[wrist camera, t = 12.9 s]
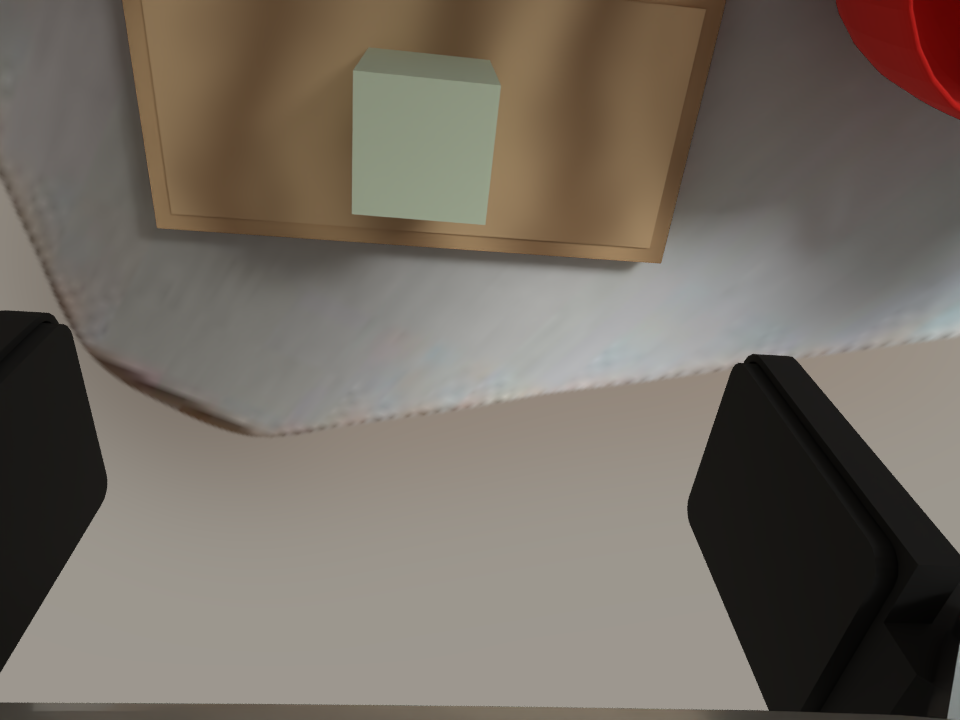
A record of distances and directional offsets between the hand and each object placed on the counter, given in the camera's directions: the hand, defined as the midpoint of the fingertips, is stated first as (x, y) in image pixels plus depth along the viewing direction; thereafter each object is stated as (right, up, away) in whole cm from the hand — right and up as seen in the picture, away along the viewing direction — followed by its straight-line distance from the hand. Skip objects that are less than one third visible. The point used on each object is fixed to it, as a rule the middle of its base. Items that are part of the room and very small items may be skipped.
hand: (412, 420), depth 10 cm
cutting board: (-2, +12, +21) cm, 24 cm away
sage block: (-1, +11, +20) cm, 23 cm away
